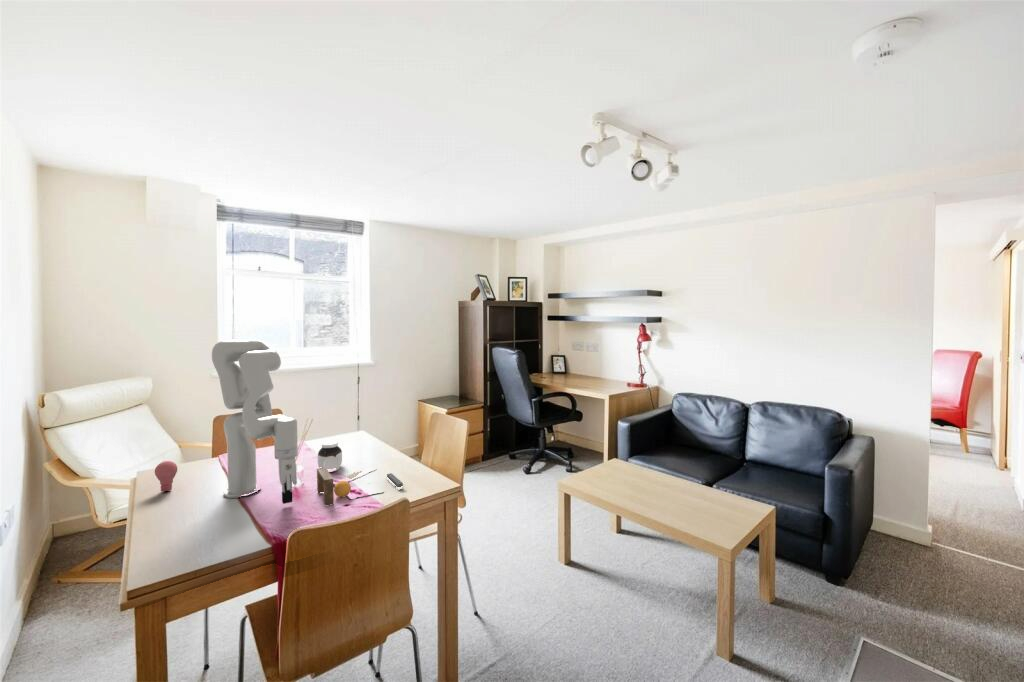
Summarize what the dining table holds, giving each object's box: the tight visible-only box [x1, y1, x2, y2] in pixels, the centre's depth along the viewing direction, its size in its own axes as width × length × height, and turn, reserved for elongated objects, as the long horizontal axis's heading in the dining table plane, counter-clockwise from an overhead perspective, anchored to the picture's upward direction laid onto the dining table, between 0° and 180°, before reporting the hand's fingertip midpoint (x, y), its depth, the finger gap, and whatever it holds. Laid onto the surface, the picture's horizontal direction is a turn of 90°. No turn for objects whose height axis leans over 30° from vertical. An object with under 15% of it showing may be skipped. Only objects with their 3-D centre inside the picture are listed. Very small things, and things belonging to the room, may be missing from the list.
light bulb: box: [154, 460, 178, 493], centre depth 177 cm, size 7×7×12 cm
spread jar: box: [317, 440, 343, 470], centre depth 204 cm, size 12×11×12 cm
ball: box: [333, 481, 352, 498], centre depth 172 cm, size 6×6×6 cm
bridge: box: [316, 467, 335, 506], centre depth 171 cm, size 3×15×10 cm, turn 33°
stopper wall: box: [386, 473, 404, 487], centre depth 186 cm, size 14×2×2 cm, turn 33°
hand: (287, 502), depth 164 cm, fingers closed
